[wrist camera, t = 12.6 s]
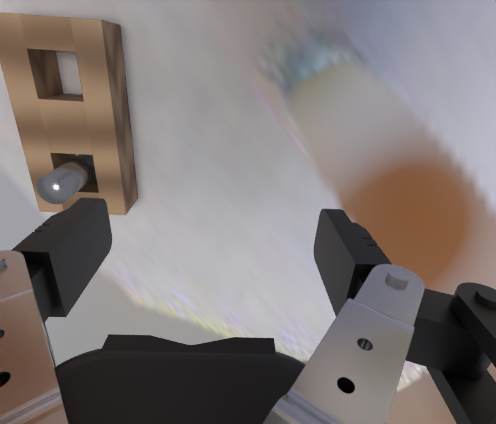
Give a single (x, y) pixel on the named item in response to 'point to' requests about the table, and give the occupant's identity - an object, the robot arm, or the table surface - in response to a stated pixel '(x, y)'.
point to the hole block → (71, 103)
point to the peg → (66, 179)
